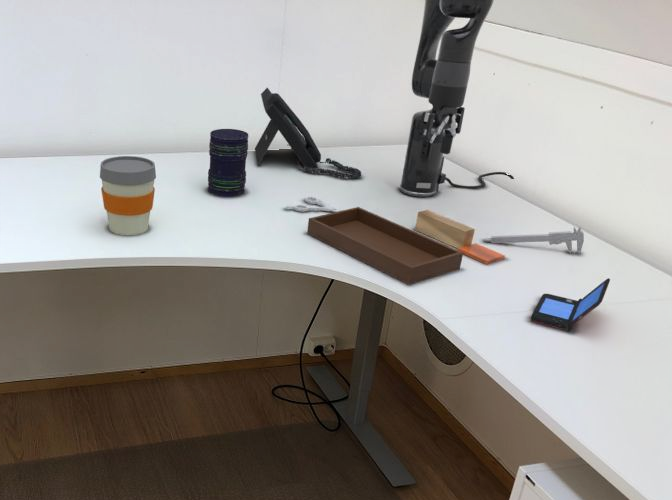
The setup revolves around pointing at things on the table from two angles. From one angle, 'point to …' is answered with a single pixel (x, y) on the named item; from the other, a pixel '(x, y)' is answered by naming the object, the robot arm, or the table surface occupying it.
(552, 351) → the table surface
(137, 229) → the reusable coffee cup
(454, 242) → the tan and orange bar
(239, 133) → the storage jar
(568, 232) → the caliper
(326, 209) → the scissors
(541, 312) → the handheld console
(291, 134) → the office phone
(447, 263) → the tray
